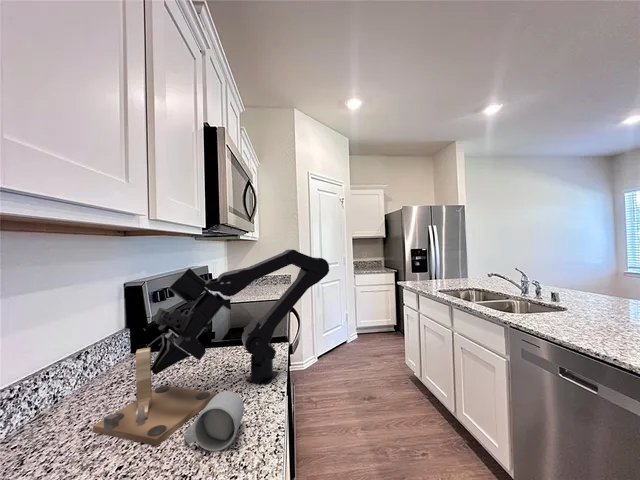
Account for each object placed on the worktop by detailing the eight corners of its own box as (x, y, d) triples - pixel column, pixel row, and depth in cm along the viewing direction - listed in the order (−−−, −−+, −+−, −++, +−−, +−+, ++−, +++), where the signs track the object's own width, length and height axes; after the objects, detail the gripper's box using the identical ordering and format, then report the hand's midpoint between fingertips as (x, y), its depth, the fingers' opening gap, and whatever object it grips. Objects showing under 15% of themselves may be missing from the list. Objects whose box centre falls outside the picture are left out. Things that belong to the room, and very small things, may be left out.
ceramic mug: (246, 422, 60) (244, 384, 60) (237, 450, 51) (235, 406, 52) (193, 426, 59) (192, 388, 59) (175, 455, 51) (174, 411, 51)
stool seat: (162, 389, 74) (162, 372, 74) (215, 397, 69) (215, 379, 69) (93, 431, 58) (92, 409, 58) (156, 446, 53) (156, 421, 53)
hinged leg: (149, 417, 59) (148, 358, 60) (134, 420, 58) (133, 360, 58) (151, 400, 66) (150, 347, 66) (138, 403, 65) (137, 349, 65)
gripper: (166, 290, 76) (116, 342, 69) (189, 300, 62) (129, 367, 55) (198, 314, 81) (154, 365, 74) (225, 328, 67) (175, 393, 60)
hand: (153, 372), depth 65 cm, fingers closed
